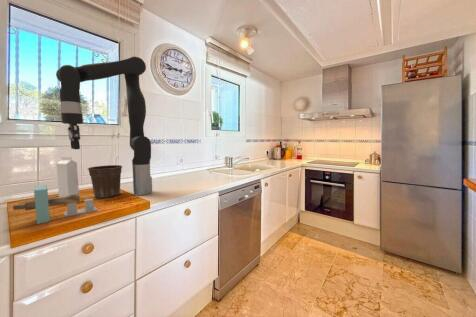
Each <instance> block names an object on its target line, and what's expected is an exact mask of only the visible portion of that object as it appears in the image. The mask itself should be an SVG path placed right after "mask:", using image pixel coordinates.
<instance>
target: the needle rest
mask: <svg viewBox="0 0 476 317" xmlns="http://www.w3.org/2000/svg"><path fill="white" fill-rule="evenodd" d="M77 209H78V208H77V202H75V203H69V204H66V211H65V212H63V215H64V217H65V218H66V217H72V216H76V215H82V214H88V213H92V212H96V211H97V212H98V208H97V207H96V206H95V202H94V198H87V199H84V208H82V209H78V210H77Z"/></svg>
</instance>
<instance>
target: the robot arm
mask: <svg viewBox="0 0 476 317" xmlns="http://www.w3.org/2000/svg"><path fill="white" fill-rule="evenodd" d="M146 69H147V65H146V62H145V61H144V60H143V59H142V58H140V57H138V56H131V57H128V58H126V59H121V60H116V61H107V62H106V61H105V62H96V63H86V64H82V65H80V66H73V65H71V64H64V65H62V66H60V67H59V68H58V69H57V70H56V72H55V75H56V77H55V78H56V80H58V81H59V82H60V90H59V99H60V101H59V102H60V115H61V117H60V118H61V123H62V124H65V125H68V127H67V132H68V133H67V134H68V139H69V141H70V147H71V149H72V150H80V149H81V145H80V140H81V132H80V131H81V130H80V126H79V125H81V124H84V118H83V107H82V103H81V94H80V89H81V83H84V82H88V81H97V80H103V79H107V78H112V77H115V76H119V75H120V76H121V75H124V82H125V89H126V92H125V93H126V103H127V111H128V112H127V114H128V123H129V147H130V149H131V150H133V158H132V160H131V163H132V164H131V165H132V187H133V190H132V191H133V195H134V196H145V195H149V194H152V193H153V176H151V159H152V143H151V140H150V139H149V138H148V137H147V136H145V132H144V125H145V120H146V116H147V106H146V99H145V96H144V94H143V92H142V90H141V88H140V76H142V75H143V74H144V73H145V72H146Z"/></svg>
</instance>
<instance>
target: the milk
mask: <svg viewBox="0 0 476 317" xmlns="http://www.w3.org/2000/svg"><path fill="white" fill-rule="evenodd" d="M55 165H56V173H57V174H56V175H57V188H58V197H61V196H68V195H75V194H79V195H80V191H79V190H80V189H79V177H78V162H77V161H75V160H73V158H72V156H61V160H59V161H58V162H57V163H56V164H55Z"/></svg>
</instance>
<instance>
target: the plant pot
mask: <svg viewBox="0 0 476 317" xmlns="http://www.w3.org/2000/svg"><path fill="white" fill-rule="evenodd" d="M122 168H123V166H122V165H118V164H115V165H113V164H112V165H110V164H108V165H98V166H91V167H88V168H87V170H88V172H89V176H90V180H91V184H92V190H93V194H94V198H96V199H105V198H111V197H116V196H119V195H120V194H121V179H122V178H121V177H122V176H121V175H122Z"/></svg>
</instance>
